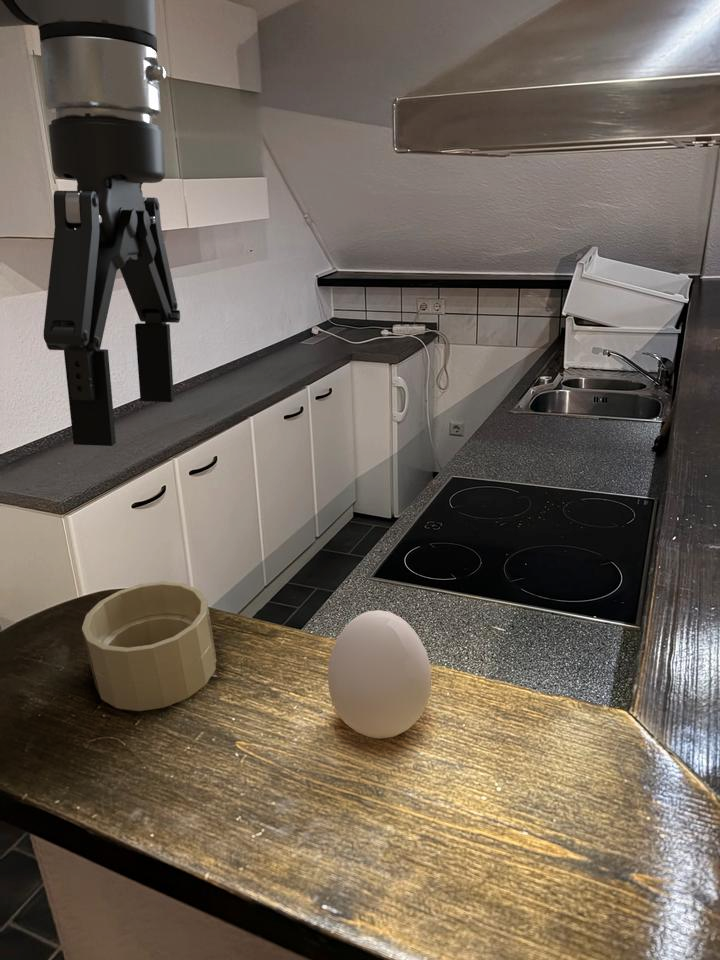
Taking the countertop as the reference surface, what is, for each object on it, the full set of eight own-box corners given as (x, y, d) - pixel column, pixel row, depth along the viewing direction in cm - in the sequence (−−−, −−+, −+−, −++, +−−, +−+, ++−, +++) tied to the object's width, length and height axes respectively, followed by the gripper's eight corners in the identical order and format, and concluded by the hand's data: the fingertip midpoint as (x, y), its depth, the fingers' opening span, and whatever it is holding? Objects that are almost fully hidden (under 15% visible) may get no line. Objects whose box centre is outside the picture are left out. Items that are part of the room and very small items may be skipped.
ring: (89, 727, 68) (71, 658, 65) (108, 651, 78) (93, 589, 75) (216, 709, 69) (204, 641, 66) (218, 637, 79) (208, 575, 76)
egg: (395, 681, 71) (390, 576, 67) (453, 735, 65) (452, 622, 60) (314, 718, 67) (303, 609, 63) (366, 780, 61) (358, 663, 56)
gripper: (85, 90, 40) (117, 471, 47) (206, 139, 64) (216, 388, 71) (-52, 88, 41) (0, 466, 48) (118, 138, 64) (137, 385, 71)
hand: (129, 420), depth 59 cm, fingers open, 13 cm apart
